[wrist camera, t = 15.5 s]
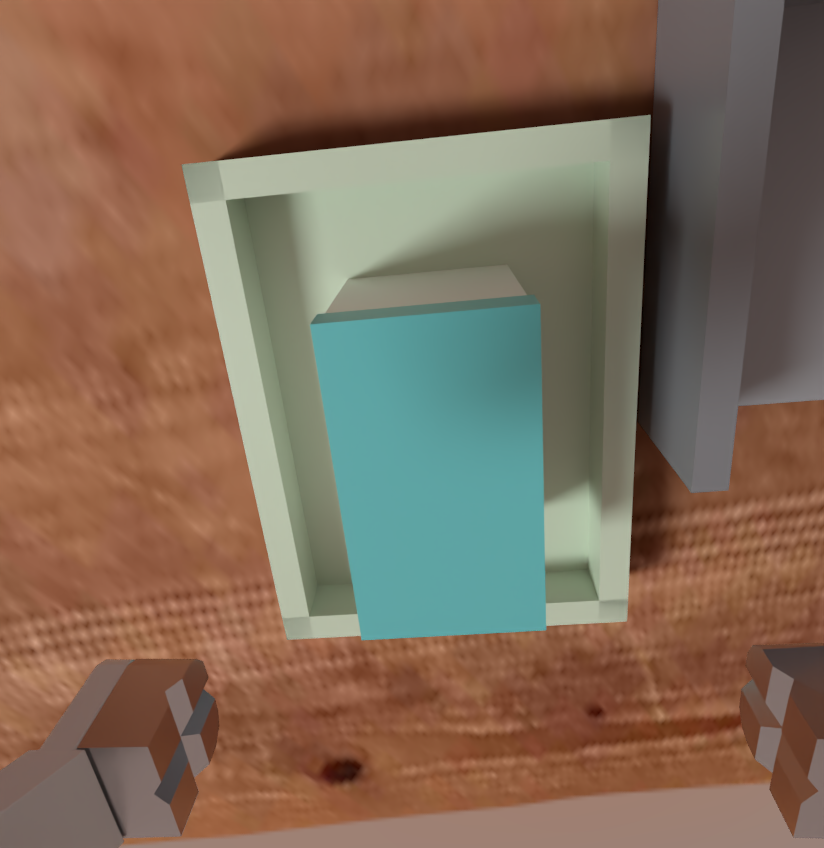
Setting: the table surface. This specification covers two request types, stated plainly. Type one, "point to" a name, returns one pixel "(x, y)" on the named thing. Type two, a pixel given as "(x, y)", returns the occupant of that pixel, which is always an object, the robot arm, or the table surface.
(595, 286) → the tray
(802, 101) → the bay
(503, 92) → the table surface
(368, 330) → the teal-topped block
